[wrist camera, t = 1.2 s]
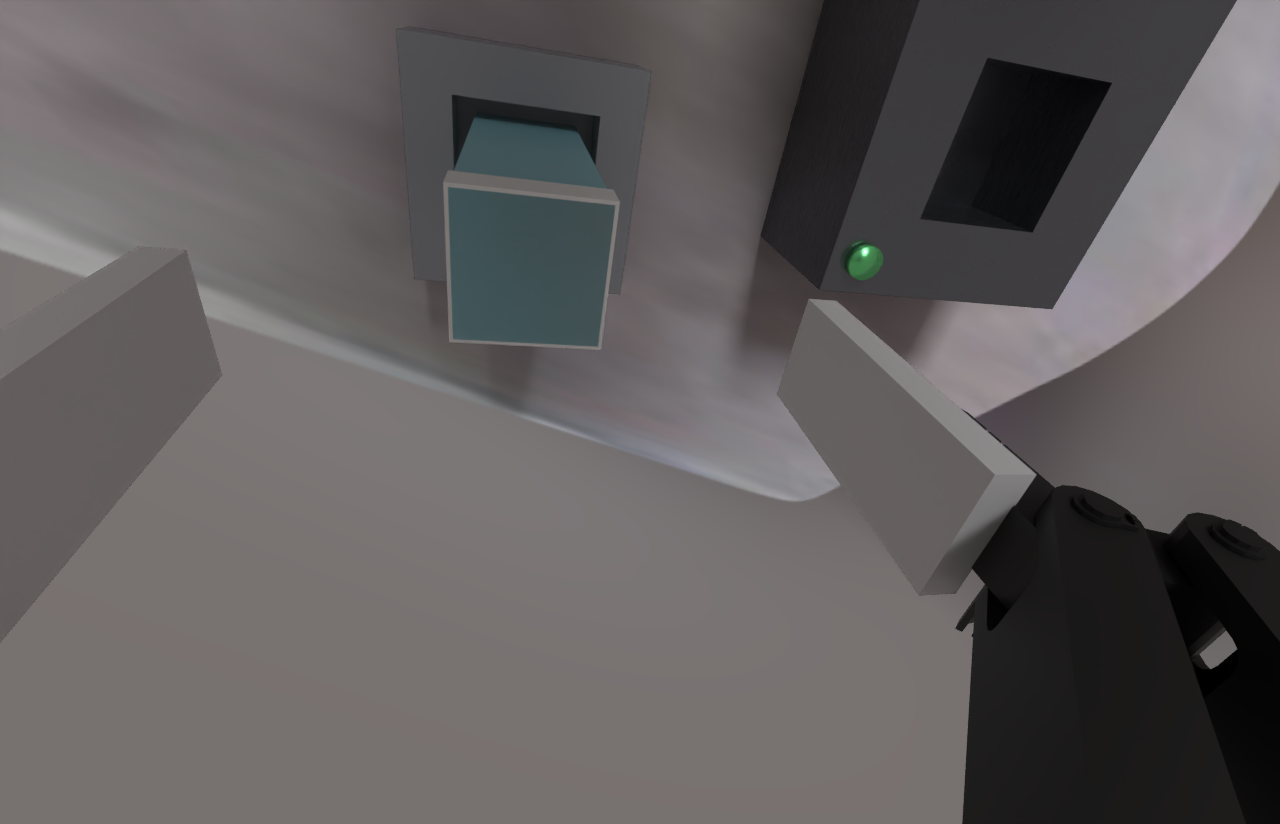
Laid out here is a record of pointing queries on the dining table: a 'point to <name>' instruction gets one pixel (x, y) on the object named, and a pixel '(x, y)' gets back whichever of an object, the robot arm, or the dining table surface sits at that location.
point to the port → (974, 139)
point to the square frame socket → (519, 88)
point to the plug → (527, 237)
